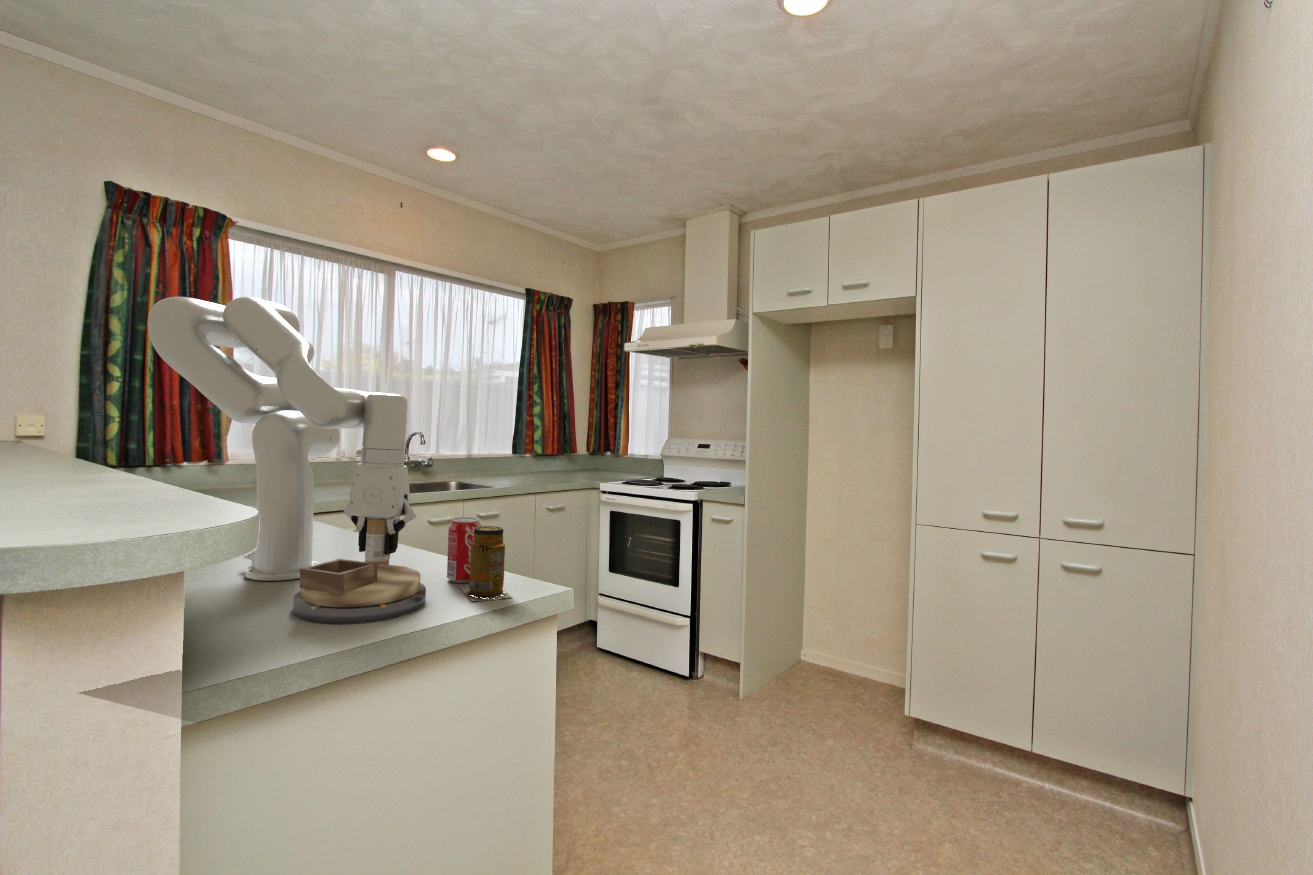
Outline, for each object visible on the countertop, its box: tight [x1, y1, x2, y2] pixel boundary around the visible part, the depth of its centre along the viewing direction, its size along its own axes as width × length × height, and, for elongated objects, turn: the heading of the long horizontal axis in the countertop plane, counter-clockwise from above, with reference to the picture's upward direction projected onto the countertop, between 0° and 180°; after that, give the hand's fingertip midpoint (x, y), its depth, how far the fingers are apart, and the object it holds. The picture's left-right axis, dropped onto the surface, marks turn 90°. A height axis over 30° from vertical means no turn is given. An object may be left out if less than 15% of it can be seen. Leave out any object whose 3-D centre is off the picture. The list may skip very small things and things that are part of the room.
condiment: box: [461, 525, 513, 602], centre depth 112 cm, size 7×8×12 cm
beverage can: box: [446, 516, 482, 584], centre depth 120 cm, size 6×6×12 cm
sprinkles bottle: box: [364, 517, 391, 565], centre depth 118 cm, size 5×5×14 cm
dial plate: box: [292, 582, 427, 625], centre depth 103 cm, size 20×20×2 cm
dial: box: [299, 558, 421, 607], centre depth 103 cm, size 18×18×5 cm
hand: (377, 550), depth 118 cm, fingers closed on sprinkles bottle, 4 cm apart
